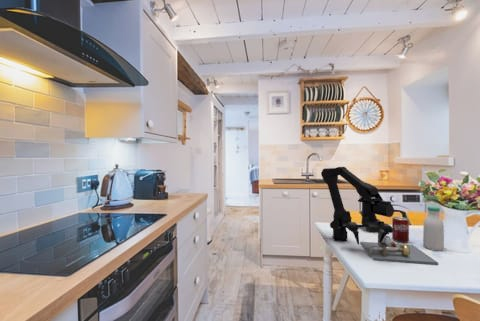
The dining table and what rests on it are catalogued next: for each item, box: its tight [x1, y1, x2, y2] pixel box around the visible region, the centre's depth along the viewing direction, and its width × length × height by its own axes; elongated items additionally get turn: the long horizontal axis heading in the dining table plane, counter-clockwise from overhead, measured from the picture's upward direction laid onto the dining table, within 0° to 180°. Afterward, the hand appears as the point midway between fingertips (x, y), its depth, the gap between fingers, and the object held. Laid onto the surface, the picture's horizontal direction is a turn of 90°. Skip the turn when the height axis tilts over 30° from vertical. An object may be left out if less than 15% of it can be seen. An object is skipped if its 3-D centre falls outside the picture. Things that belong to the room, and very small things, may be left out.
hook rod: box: [370, 245, 410, 256], centre depth 105 cm, size 15×4×4 cm, turn 79°
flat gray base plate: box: [359, 241, 439, 266], centre depth 109 cm, size 24×20×1 cm
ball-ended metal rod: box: [382, 235, 397, 247], centre depth 113 cm, size 12×4×4 cm, turn 169°
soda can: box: [391, 216, 410, 244], centre depth 125 cm, size 7×7×12 cm
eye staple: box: [379, 242, 386, 257], centre depth 106 cm, size 1×5×6 cm, turn 168°
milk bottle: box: [422, 205, 445, 252], centre depth 115 cm, size 8×8×20 cm
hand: (368, 245), depth 113 cm, fingers open, 9 cm apart
